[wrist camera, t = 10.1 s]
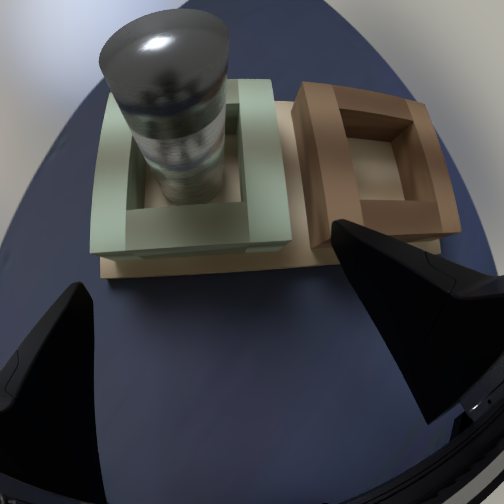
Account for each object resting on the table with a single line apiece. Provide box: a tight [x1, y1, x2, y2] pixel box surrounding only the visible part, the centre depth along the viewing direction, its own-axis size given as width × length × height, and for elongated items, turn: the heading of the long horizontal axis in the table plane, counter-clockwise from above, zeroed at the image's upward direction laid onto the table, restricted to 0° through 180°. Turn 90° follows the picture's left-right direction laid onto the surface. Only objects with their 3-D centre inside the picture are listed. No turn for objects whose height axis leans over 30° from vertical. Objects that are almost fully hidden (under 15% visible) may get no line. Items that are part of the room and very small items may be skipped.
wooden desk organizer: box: [90, 79, 461, 279], centre depth 16 cm, size 12×24×4 cm, turn 94°
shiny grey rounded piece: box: [99, 9, 229, 206], centre depth 12 cm, size 4×4×11 cm
